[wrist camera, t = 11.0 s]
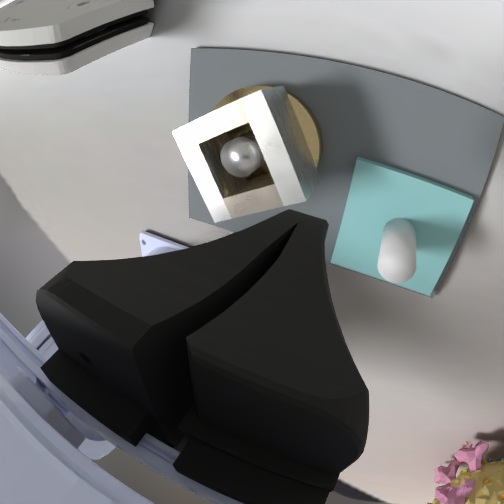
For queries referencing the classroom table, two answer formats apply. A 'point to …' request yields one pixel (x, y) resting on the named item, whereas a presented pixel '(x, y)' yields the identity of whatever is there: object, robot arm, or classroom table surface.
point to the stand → (399, 226)
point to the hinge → (67, 32)
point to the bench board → (354, 129)
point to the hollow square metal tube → (272, 147)
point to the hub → (247, 148)
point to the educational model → (471, 478)
